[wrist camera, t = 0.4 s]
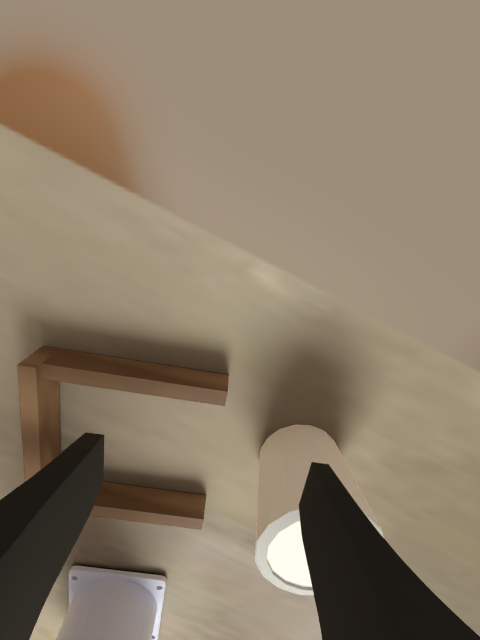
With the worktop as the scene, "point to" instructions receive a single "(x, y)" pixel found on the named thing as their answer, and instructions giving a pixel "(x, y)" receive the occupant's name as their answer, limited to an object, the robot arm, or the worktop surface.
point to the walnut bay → (119, 374)
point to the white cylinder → (293, 501)
